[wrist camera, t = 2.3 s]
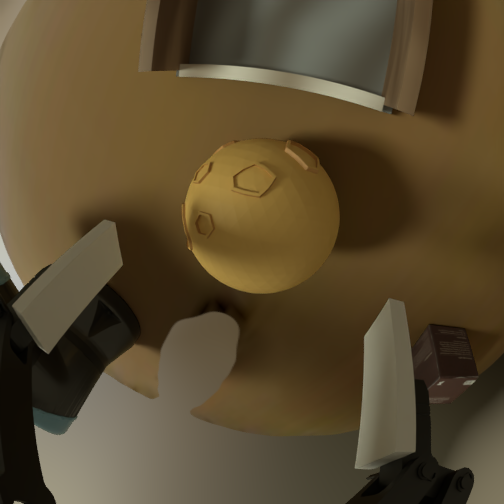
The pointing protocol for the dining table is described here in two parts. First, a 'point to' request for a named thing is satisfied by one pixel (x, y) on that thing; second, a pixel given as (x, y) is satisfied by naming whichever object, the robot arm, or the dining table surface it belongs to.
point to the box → (444, 363)
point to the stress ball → (261, 215)
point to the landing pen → (296, 45)
